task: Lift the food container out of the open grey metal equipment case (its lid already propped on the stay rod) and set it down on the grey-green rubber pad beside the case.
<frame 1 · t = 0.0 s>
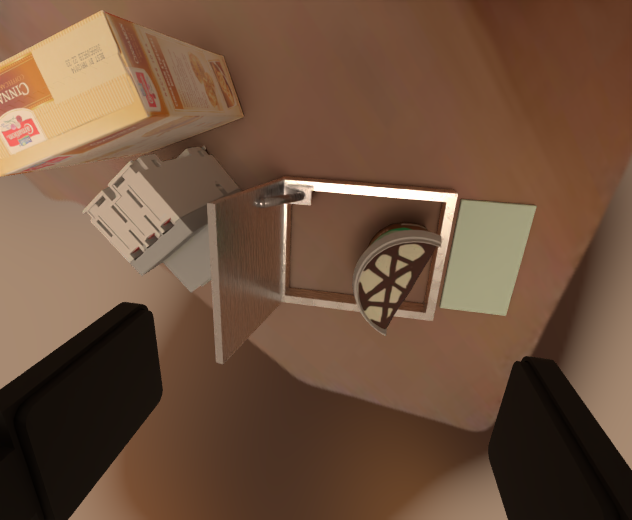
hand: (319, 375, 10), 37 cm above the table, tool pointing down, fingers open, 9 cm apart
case: (359, 246, 47), on the table
coffeecake box: (181, 108, 44), on the table
mat: (483, 258, 45), on the table
circuit breaker: (222, 208, 48), on the table
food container: (383, 247, 47), resting in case
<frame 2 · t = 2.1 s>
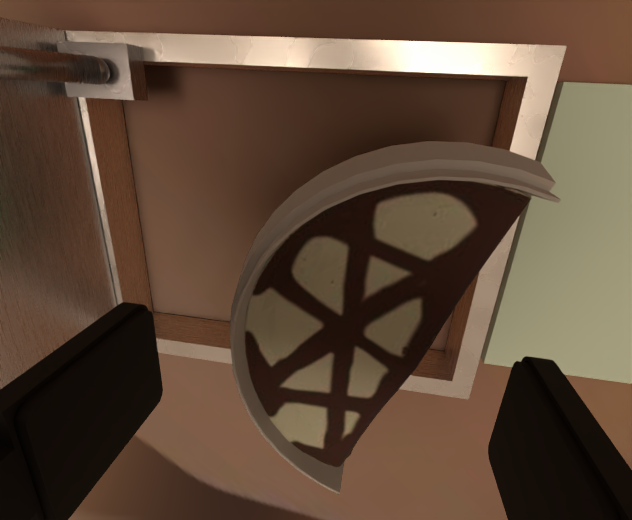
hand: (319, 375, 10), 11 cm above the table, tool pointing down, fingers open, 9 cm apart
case: (294, 219, 20), on the table
mat: (601, 249, 18), on the table
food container: (351, 223, 19), resting in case
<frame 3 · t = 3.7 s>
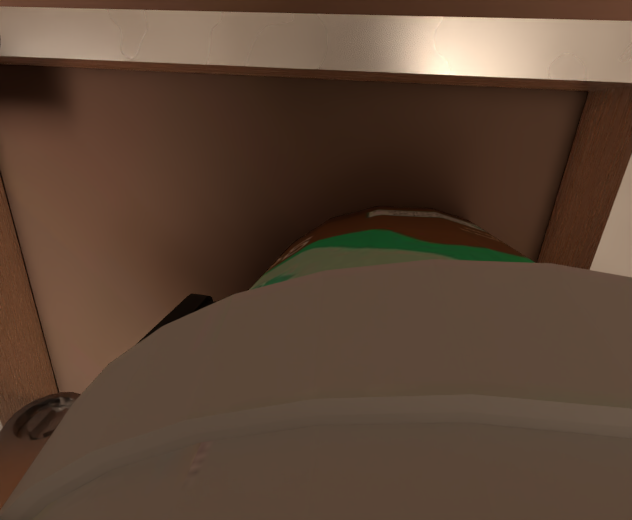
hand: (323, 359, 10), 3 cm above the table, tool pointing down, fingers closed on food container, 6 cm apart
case: (248, 295, 13), on the table
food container: (316, 302, 13), resting in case, touching gripper
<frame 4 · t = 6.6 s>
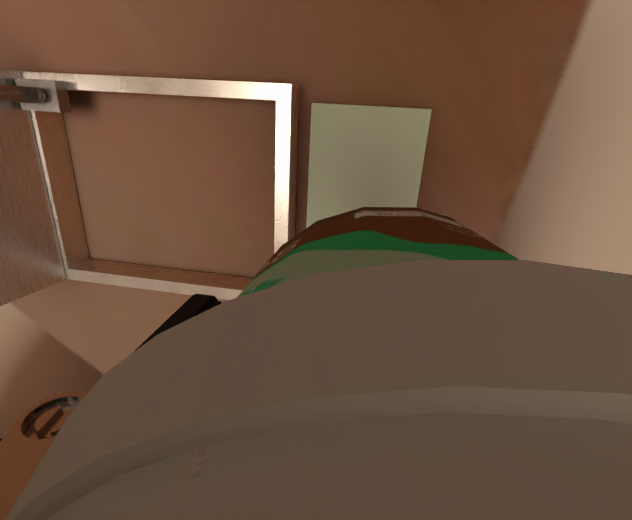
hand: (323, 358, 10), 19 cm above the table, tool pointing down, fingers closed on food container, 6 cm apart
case: (175, 189, 30), on the table
mat: (360, 206, 28), on the table
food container: (306, 304, 13), point 16 cm above the table, touching gripper
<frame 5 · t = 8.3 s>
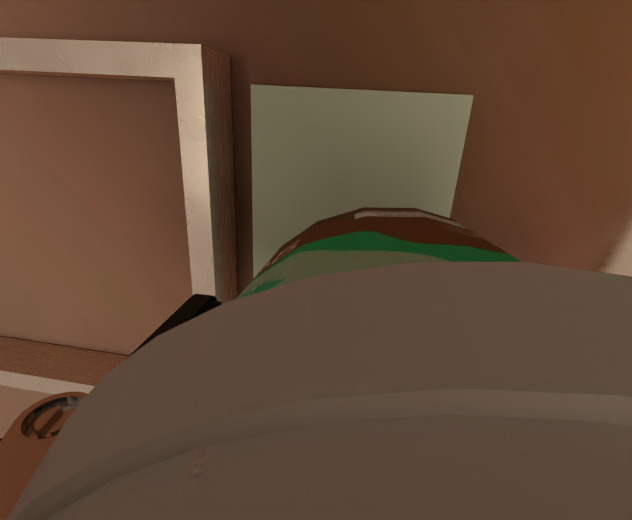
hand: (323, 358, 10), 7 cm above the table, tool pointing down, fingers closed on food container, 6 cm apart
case: (44, 230, 18), on the table
mat: (343, 262, 16), on the table
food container: (306, 304, 13), point 4 cm above the table, touching gripper
when the fingers open (4 cm above the table, at t = 9.7 s): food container stays where it is, resting on mat.
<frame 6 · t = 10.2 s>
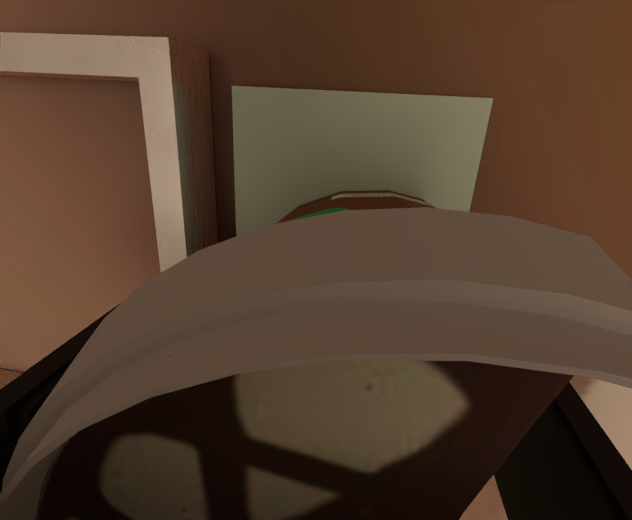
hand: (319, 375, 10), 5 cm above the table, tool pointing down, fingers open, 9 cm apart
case: (6, 248, 16), on the table
mat: (340, 288, 14), on the table
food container: (293, 284, 14), point 1 cm above the table, touching gripper, mat
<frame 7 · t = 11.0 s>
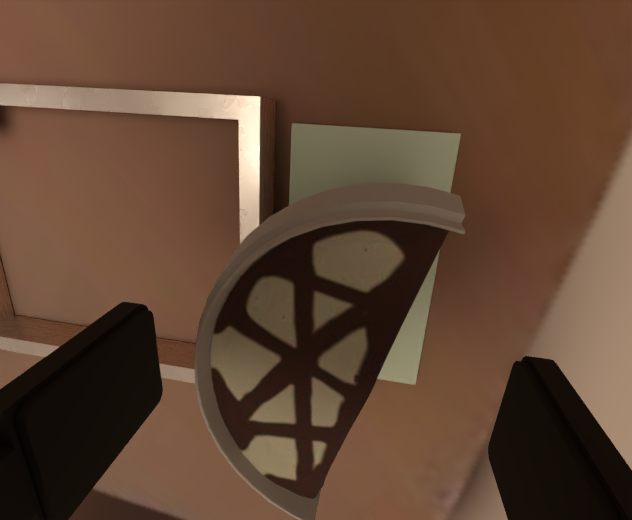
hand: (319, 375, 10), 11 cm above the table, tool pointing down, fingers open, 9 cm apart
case: (115, 233, 23), on the table
mat: (359, 262, 20), on the table
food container: (327, 257, 20), resting on mat
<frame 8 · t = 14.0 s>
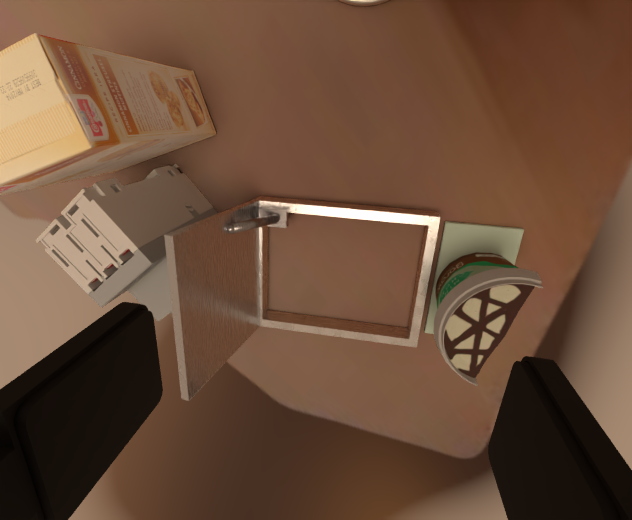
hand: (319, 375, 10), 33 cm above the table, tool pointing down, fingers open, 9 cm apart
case: (340, 268, 45), on the table
coffeecake box: (151, 124, 42), on the table
mat: (469, 282, 43), on the table
circuit breaker: (197, 228, 46), on the table
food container: (454, 280, 42), resting on mat
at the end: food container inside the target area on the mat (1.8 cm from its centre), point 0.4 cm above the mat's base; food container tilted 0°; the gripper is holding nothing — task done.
